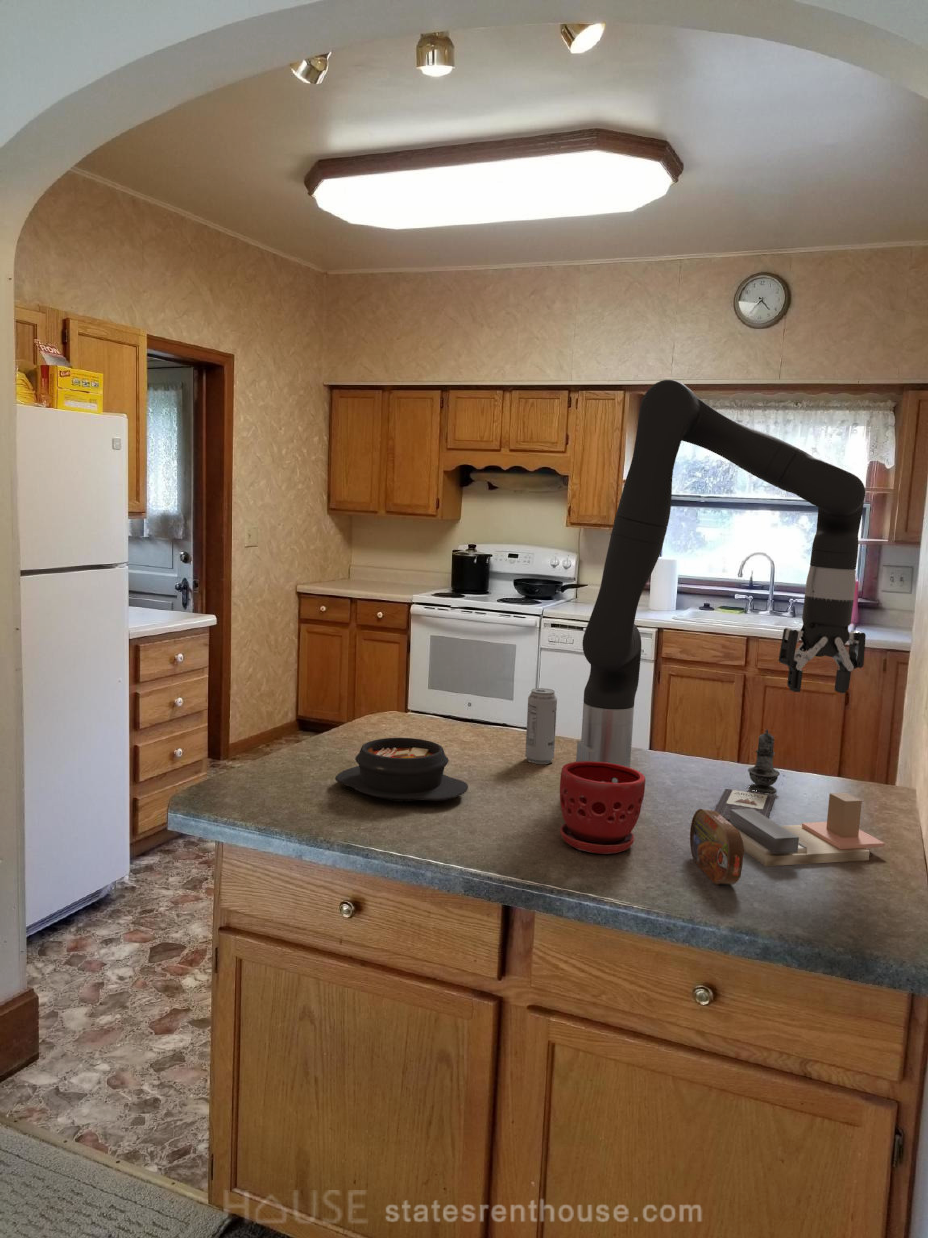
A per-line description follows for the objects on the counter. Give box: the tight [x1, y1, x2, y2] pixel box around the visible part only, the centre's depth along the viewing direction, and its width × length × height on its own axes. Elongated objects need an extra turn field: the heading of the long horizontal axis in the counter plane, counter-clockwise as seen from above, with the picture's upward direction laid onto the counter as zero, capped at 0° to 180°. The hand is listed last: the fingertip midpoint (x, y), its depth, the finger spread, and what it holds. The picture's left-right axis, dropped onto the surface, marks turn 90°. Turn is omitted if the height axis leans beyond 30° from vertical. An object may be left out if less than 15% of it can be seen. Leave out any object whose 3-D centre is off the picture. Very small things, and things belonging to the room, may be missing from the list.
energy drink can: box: [524, 687, 558, 765], centre depth 185 cm, size 6×6×15 cm
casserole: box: [335, 737, 469, 802], centre depth 162 cm, size 25×19×8 cm
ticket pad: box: [730, 809, 870, 867], centre depth 142 cm, size 18×13×4 cm
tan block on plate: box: [801, 792, 886, 849], centre depth 143 cm, size 8×10×7 cm
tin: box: [689, 808, 745, 885], centre depth 131 cm, size 15×3×8 cm, turn 5°
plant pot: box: [559, 761, 646, 855], centre depth 140 cm, size 13×13×12 cm
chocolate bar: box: [713, 788, 776, 822], centre depth 161 cm, size 9×1×18 cm
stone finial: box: [747, 728, 781, 795], centre depth 172 cm, size 6×6×12 cm
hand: (817, 691), depth 148 cm, fingers open, 8 cm apart
